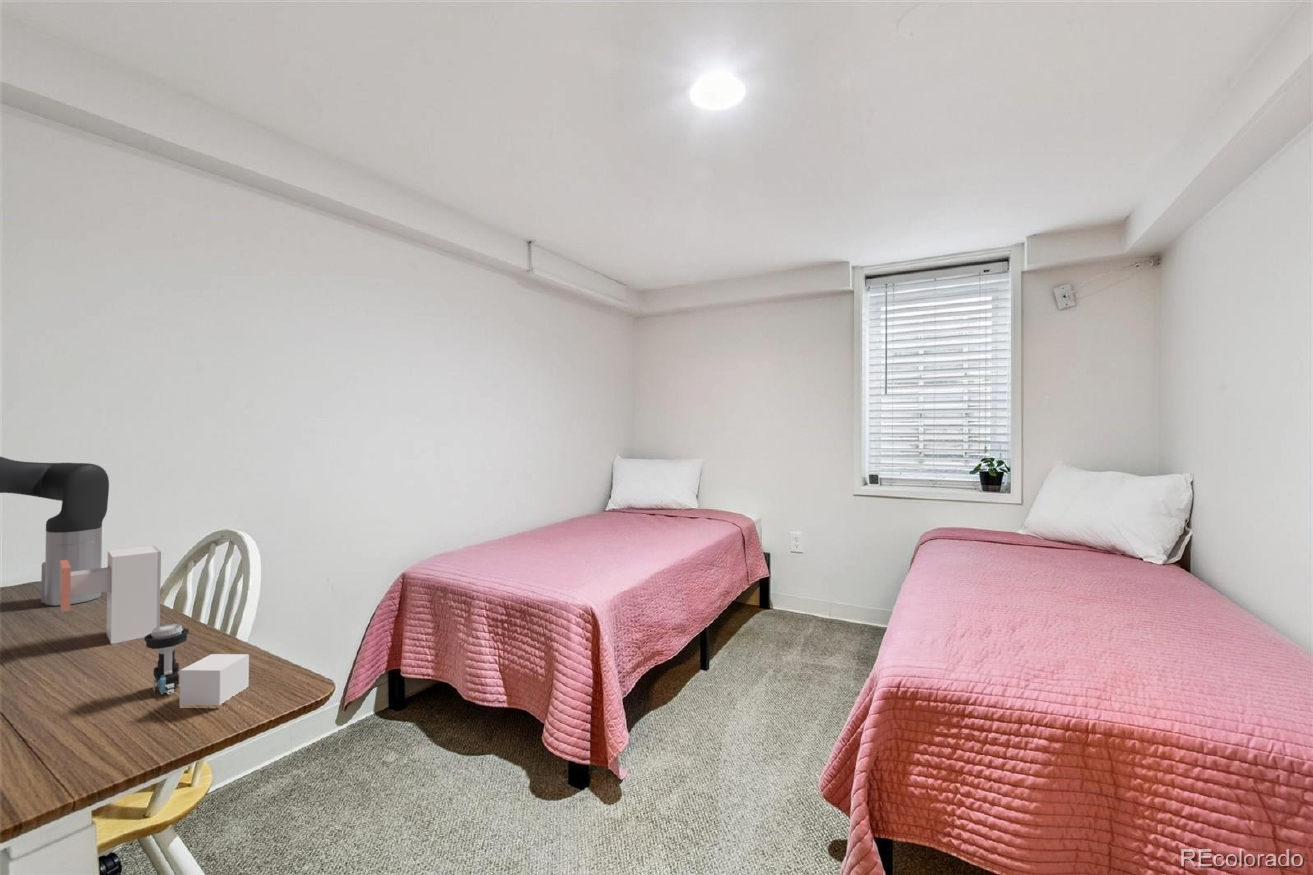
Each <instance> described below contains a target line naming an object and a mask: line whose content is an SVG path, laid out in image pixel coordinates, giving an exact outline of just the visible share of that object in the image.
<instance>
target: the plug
mask: <svg viewBox="0 0 1313 875" xmlns="http://www.w3.org/2000/svg"><path fill="white" fill-rule="evenodd" d="M107 591H111V568H110V567H108V566H107V567H106V566H105V567H101V568H98V569H90V570H82V571H74V572H71V567H70V565H69V562H68V560H61V561H60V591H59V602H60V605H59V606H60V610H61V612H62V613H64V612H70V611H71V604H70V597H73V596H80V595H87V594H93V593H100V592H101V593H107Z"/></svg>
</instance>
